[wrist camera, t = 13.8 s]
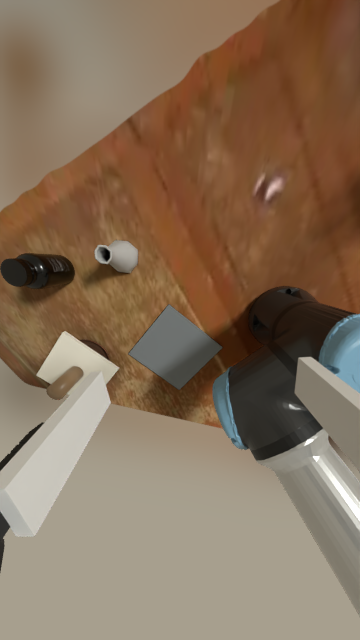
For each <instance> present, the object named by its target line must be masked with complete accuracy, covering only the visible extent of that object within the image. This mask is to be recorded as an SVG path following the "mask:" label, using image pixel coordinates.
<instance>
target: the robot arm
mask: <svg viewBox="0 0 360 640" xmlns="http://www.w3.org/2000/svg"><path fill="white" fill-rule="evenodd" d="M249 328H250V330H251V332H252V334H253V335H254V337H255V338H256V339H257V340H258V341H259V342H260V343H262V344H263V345H264V346H263V347H261V348H260V349H258V350H257V351H255V352H254V353H252V354H251V355H249V356H248V357H246V358H245V359H243V360H242V361H240V362H239V363H237V364H236V365H234V366H233V367H229V368H228V370H227V371H226V372H224V373H223V374H222V375H220V376H219V377H218V378H217V379H216V380H215V382H214V384H213V401H214V405H215V409H216V412H217V415H218V417H219V420H220V422H221V425H222V427H223V429H224V431H225V432H226V434H227V436H228V437H229V438H231V440H232V443H233V444H234V445H235V446H236V447H237V448H239V449H245V450H246V449H250V450H251V452H252V454H253V456H254V458H255V459H256V461H257V462H258V463H259V464H261V465H264V466H266V467H268V468H270V469H272V470H273V471H274V472H275V473H276V475H277V477H278V479H279V480H280V482H281V484H282V485H283V487H284V489H285V490H286V492H287V494H288V495H289V497H290V499H291V501H292V502H293V504H294V506H295V507H296V509H297V511H298V512H299V514H300V516H301V517H302V519H303V521H304V523H305V524H306V526H307V528H308V529H309V531H310V533H311V535H312V536H313V538H314V540H315V541H316V543H317V545H318V546H319V548H320V550H321V551H322V553H323V555H324V556H325V558H326V560H327V562H328V563H329V565H330V567H331V568H332V570H333V572H334V573H335V575H336V577H337V579H338V580H339V582H340V584H341V585H342V587H343V589H344V590H345V592H346V594H347V595H348V597H349V599H350V600H351V602H352V604H353V606H354V607H355V609H356V611H357V612H358V614H359V616H360V482H359V480H358V479H357V478H356V477H355V475H354V474H353V473H352V472H351V470H350V469H349V468H348V467H347V465H346V464H345V463H344V462H343V461H342V459H341V458H340V457H339V455H338V454H337V453H336V452H335V450H334V449H333V448H332V447H331V446H330V444H329V441H328V434H329V436H330V437H331V438H332V439H333V440H334V442H335V443H336V444H337V445H338V446H339V448H340V449H341V450H342V451H343V453H344V454H345V455H346V456H347V457H348V459H349V460H350V461H351V462H352V464H353V465H354V466H355V467H356V468H357V470H358V471H359V472H360V314H356V313H353V312H349V311H346V310H342V309H339V308H335V307H331V306H328V305H324V304H321V303H319V302H318V301H317V300H316V299H315V298H314V297H313V296H312V295H311V294H309V293H308V292H306V291H304V290H302V289H299V288H295V287H290V286H281V287H276V288H273V289H271V290H268V291H267V292H265V293H264V294H262V295H261V296H260V297H259V298H258V299H257V300H256V301H255V303H254V304H253V306H252V308H251V310H250V313H249ZM110 403H111V402H110V399H109V395H108V392H107V388H106V385H105V381H104V378H103V374H102V371H95V372H91V373H90V374H89V375H88V376H87V377H86V378H85V379H84V380H83V381H82V382H81V383H80V385H79V386H78V387H77V388H76V389H75V390H74V391H73V392H72V393H71V394H70V395H69V397H68V398H67V399H66V400H65V401H64V402H63V403H62V404H61V405H60V407H59V408H58V409H57V410H56V411H55V412H54V413H53V414H52V415H51V416H50V417H49V419H48V420H47V421H46V422H45V423H41V424H39V425H38V426H37V427H35V428H34V429H33V430H31V431H30V432H29V433H28V434H27V435H26V436H25V437H24V438H23V439H22V440H21V441H20V442H19V445H17V446H16V447H15V448H14V449H13V450H12V451H11V453H10V454H8V455H7V456H6V457H5V458H4V459H3V460H2V461H1V462H0V571H1V564H2V558H3V552H4V539H3V537H4V535H5V534H6V532H7V531H8V529H9V528H11V529H12V531H13V532H14V534H15V535H16V536H35V535H36V534H37V532H38V530H39V528H40V526H41V525H42V523H43V521H44V519H45V517H46V516H47V514H48V512H49V511H50V509H51V507H52V505H53V504H54V502H55V500H56V498H57V496H58V495H59V493H60V491H61V489H62V488H63V486H64V484H65V482H66V480H67V479H68V477H69V475H70V473H71V472H72V470H73V468H74V466H75V465H76V463H77V461H78V459H79V458H80V456H81V454H82V452H83V450H84V449H85V447H86V445H87V444H88V442H89V440H90V438H91V437H92V435H93V433H94V431H95V429H96V428H97V426H98V424H99V422H100V421H101V419H102V417H103V415H104V414H105V412H106V410H107V408H108V407H109V405H110Z"/></svg>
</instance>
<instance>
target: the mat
mask: <svg viewBox="0 0 360 640" xmlns="http://www.w3.org/2000/svg"><path fill="white" fill-rule="evenodd" d="M221 349H222V346H220V345H219V344H218V343H217V342H215V341H214V340H213V339H212V338H210V337H209V336H208V335H207V334H205V333H204V332H203V331H202V330H200V329H199V328H198V327H197V326H195V325H194V324H193V323H192V322H190V321H189V320H188V319H187V318H185V317H184V316H183V315H182V314H180V313H179V312H178V311H177V310H175V309H174V308H173V307H172V306H170V305H168V306H167V307H166V308H165V310H164V311H163V312H162V313H161V315H160V316H159V317H158V318H157V319H156V321H155V322H154V323H153V324H152V326H151V327H150V328H149V329H148V330H147V332H146V333H145V334H144V335H143V337H142V338H141V339H140V340H139V342H138V343H137V344H136V345H135V346H134V348H133V349H132V350H131V351H130V353H129V355H130V356H132V357H133V358H135V359H136V360H138V361H139V362H140V363H142V364H143V365H145V366H146V367H147V368H149V369H150V370H152V371H153V372H155V373H156V374H157V375H159V376H160V377H162V378H163V379H164V380H166V381H167V382H169V383H170V384H171V385H173V386H174V387H176V388H177V389H179V390H180V389H181V388H182V387H183V386H184V385H185V384H186V383H187V382H188V381H189V380H190V379H191V378H192V377H193V376H194V375H195V374H196V373H197V372H198V371H199V370H200V369H201V368H202V367H203V366H204V365H205V364H206V363H207V362H208V361H209V360H210V359H211V358H212V357H213V356H214V355H215V354H217V353H218V352H219V351H220V350H221Z"/></svg>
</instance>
